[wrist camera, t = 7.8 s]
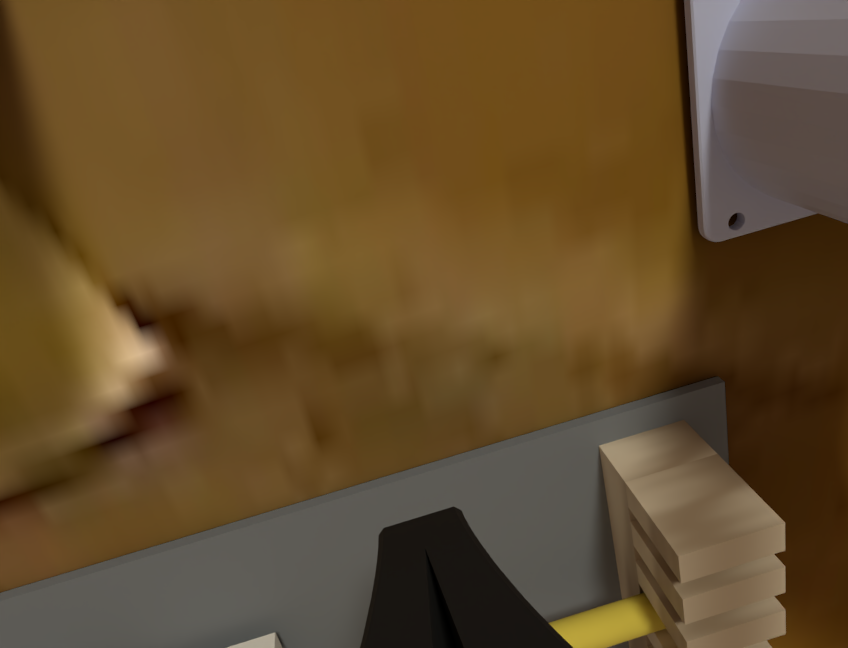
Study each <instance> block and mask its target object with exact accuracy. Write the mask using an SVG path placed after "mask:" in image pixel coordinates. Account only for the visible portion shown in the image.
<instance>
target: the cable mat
mask: <svg viewBox="0 0 848 648" xmlns="http://www.w3.org/2000/svg"><path fill="white" fill-rule="evenodd" d="M681 420H685V421H686V422H687V423H688V424H689V425H690V426H691V427H692V428H693V429H694V430H695V432H696V433H697V434H698V435H699V436H700V437H701V438H702V439H703V440H704V441H705V442H706V443H707V444H708V445H709V446H710V447H711V448H712V449H713V450H714V451H715V452H716V453H717V454H718V455H719V456H720V457H721V458H722V459H723V460H724V461H725V462H726V463H727V464H728V465H729V457H728V437H727V417H726V397H725V382H724V381H723V380H722V379H721V378H720V377H718V376H717V377H713V378H710V379H707V380H704V381H700V382H697V383H694V384H690V385H687V386H684V387H680V388H677V389H674V390H670V391H667V392H664V393H660V394H657V395H654V396H651V397H647V398H644V399H641V400H637V401H634V402H631V403H627V404H624V405H621V406H617V407H614V408H611V409H608V410H604V411H601V412H598V413H594V414H591V415H588V416H584V417H581V418H578V419H574V420H571V421H568V422H565V423H561V424H558V425H555V426H551V427H548V428H545V429H541V430H538V431H535V432H531V433H528V434H525V435H521V436H518V437H515V438H512V439H508V440H505V441H502V442H498V443H495V444H492V445H488V446H485V447H482V448H478V449H475V450H472V451H469V452H465V453H462V454H459V455H455V456H452V457H449V458H445V459H442V460H439V461H435V462H432V463H429V464H426V465H422V466H419V467H416V468H412V469H409V470H406V471H402V472H399V473H396V474H392V475H389V476H386V477H382V478H379V479H376V480H373V481H369V482H366V483H363V484H359V485H356V486H353V487H349V488H346V489H343V490H339V491H336V492H333V493H330V494H326V495H323V496H320V497H316V498H313V499H310V500H306V501H303V502H300V503H296V504H293V505H290V506H287V507H283V508H280V509H277V510H273V511H270V512H267V513H263V514H260V515H257V516H253V517H250V518H247V519H243V520H240V521H237V522H234V523H230V524H227V525H224V526H220V527H217V528H214V529H210V530H207V531H204V532H200V533H197V534H194V535H191V536H187V537H184V538H181V539H177V540H174V541H171V542H167V543H164V544H161V545H157V546H154V547H151V548H148V549H144V550H141V551H138V552H134V553H131V554H128V555H124V556H121V557H118V558H114V559H111V560H108V561H104V562H101V563H98V564H95V565H91V566H88V567H85V568H81V569H78V570H75V571H71V572H68V573H65V574H61V575H58V576H55V577H52V578H48V579H45V580H42V581H38V582H35V583H32V584H28V585H25V586H22V587H18V588H15V589H12V590H9V591H5V592H2V593H0V648H227V647H230V646H233V645H236V644H239V643H243V642H246V641H249V640H252V639H255V638H259V637H262V636H265V635H268V634H271V633H276V635H277V637H278V639H279V641H280V643H281V646H282V648H360V646H361V642H362V638H363V634H364V629H365V624H366V620H367V615H368V610H369V606H370V601H371V596H372V590H373V584H374V579H375V572H376V565H377V555H378V538H379V534H380V532H381V531H382V529H383V528H385V527H388V526H392V525H395V524H398V523H401V522H405V521H408V520H411V519H414V518H418V517H421V516H424V515H427V514H431V513H434V512H437V511H440V510H444V509H447V508H450V507H456V508H458V509H460V510H462V512H463V515H464V517H465V519H466V521H467V522H468V524H469V526H470V528H471V529H472V531H473V532H474V534H475V536H476V537H477V539H478V540H479V542H480V543H481V544H482V546H483V547H484V549H485V550H486V551H487V553H488V554H489V555H490V557H491V558H492V559H493V561H494V562H495V563H496V564H497V566H498V567H499V568H500V570H501V571H502V572H503V573H504V574H505V576H506V577H507V578H508V579H509V580H510V581H511V583H512V584H513V585H514V586H515V587H516V588H517V590H518V591H519V592H520V593H521V594H522V595H523V597H524V598H525V599H526V600H527V601H528V602H529V603H530V604H531V605H532V606H533V607H534V609H535V610H536V611H537V612H538V613H539V614H540V615H541V616H542V617H543V618H544V619H545V620H546V621H547V622H548V623H550V622H553V621H556V620H559V619H562V618H565V617H568V616H572V615H575V614H578V613H581V612H584V611H587V610H590V609H594V608H597V607H600V606H603V605H606V604H609V603H612V602H615V601H619V600H622V596H621V589H620V582H619V576H618V569H617V563H616V556H615V549H614V543H613V536H612V530H611V523H610V516H609V510H608V503H607V496H606V490H605V483H604V477H603V470H602V463H601V457H600V450H599V445H603V444H606V443H609V442H613V441H616V440H619V439H622V438H626V437H629V436H632V435H636V434H639V433H642V432H645V431H649V430H652V429H655V428H659V427H662V426H665V425H668V424H672V423H675V422H678V421H681ZM607 648H629V642H628V641H626V642H623V643H620V644H616V645H613V646H610V647H607Z"/></svg>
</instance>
